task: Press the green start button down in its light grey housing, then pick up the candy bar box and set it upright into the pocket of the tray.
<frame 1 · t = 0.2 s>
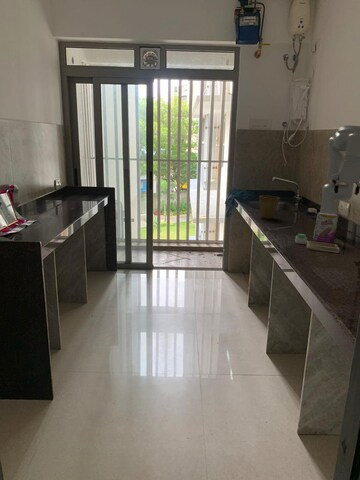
hand: (345, 193, 182), 31 cm above the countertop, fingers open, 9 cm apart
start button: (301, 236, 203), point 3 cm above the countertop, slide at 0.0 cm
button housing: (300, 242, 204), on the countertop
candy bar box: (323, 241, 210), on the countertop
plant pot: (266, 217, 269), on the countertop
tray: (321, 248, 194), on the countertop
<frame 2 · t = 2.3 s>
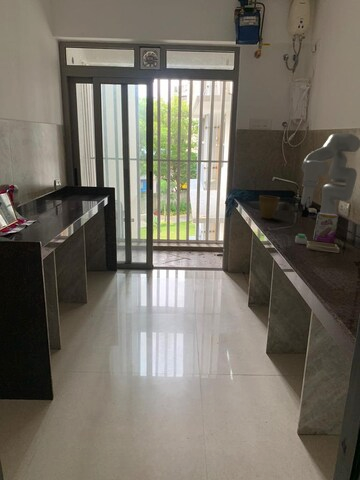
hand: (304, 216, 200), 15 cm above the countertop, fingers closed
nothing on the countertop moved.
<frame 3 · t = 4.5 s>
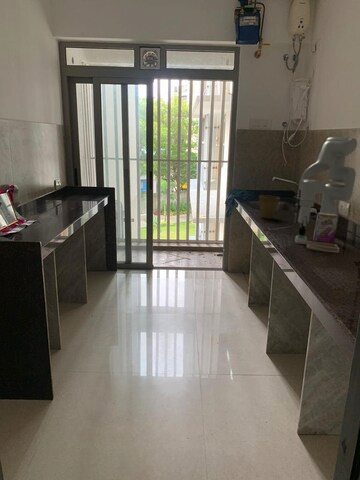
hand: (301, 234, 203), 4 cm above the countertop, fingers closed
start button: (301, 237, 203), point 3 cm above the countertop, slide at 0.3 cm, touching gripper
everything else where it was.
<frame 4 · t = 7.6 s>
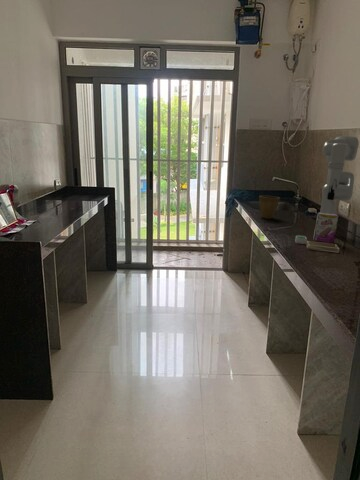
hand: (330, 199, 203), 25 cm above the countertop, fingers closed
start button: (301, 238, 203), point 2 cm above the countertop, slide at 1.0 cm
everything else where it was.
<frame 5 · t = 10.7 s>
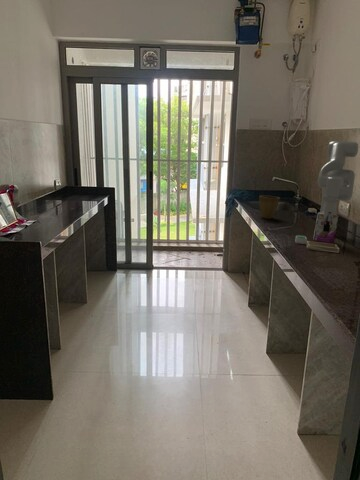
hand: (325, 229, 208), 7 cm above the countertop, fingers closed on candy bar box, 5 cm apart
candy bar box: (323, 241, 210), on the countertop, touching gripper
everything else where it was.
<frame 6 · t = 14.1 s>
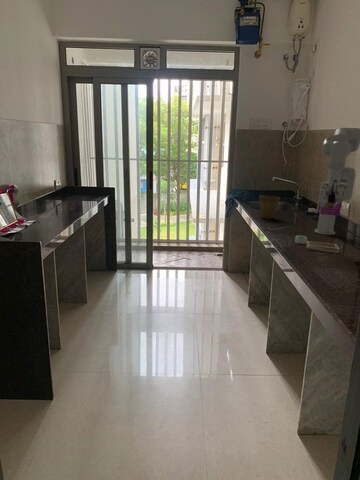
hand: (330, 201, 188), 26 cm above the countertop, fingers closed on candy bar box, 5 cm apart
candy bar box: (327, 214, 190), point 19 cm above the countertop, touching gripper
everything else where it was.
when the fingers open (9 cm above the countertop, at t = 17.8 s): candy bar box stays where it is, resting on tray.
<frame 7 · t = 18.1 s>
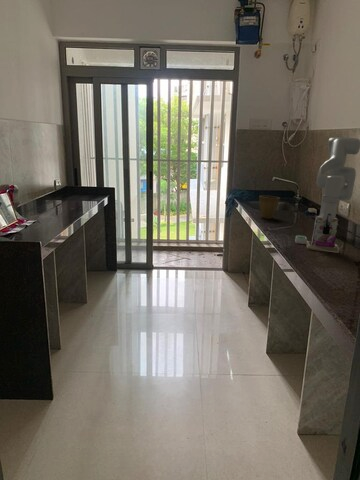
hand: (324, 232, 192), 9 cm above the countertop, fingers open, 7 cm apart
candy bar box: (321, 247, 194), resting on tray
everything else where it was.
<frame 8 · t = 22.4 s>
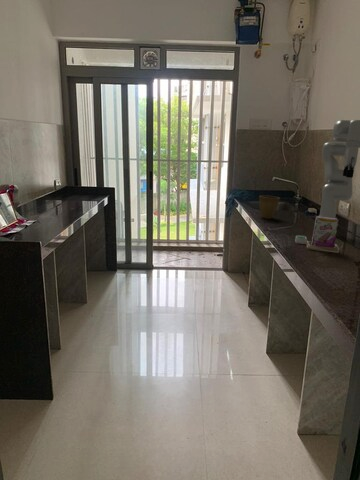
hand: (347, 176, 195), 38 cm above the countertop, fingers open, 9 cm apart
nothing on the countertop moved.
at the end: start button slide at 1.0 cm; candy bar box 0.2 cm off-centre on the tray, point 0.4 cm above the tray's base; candy bar box tilted 0° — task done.
